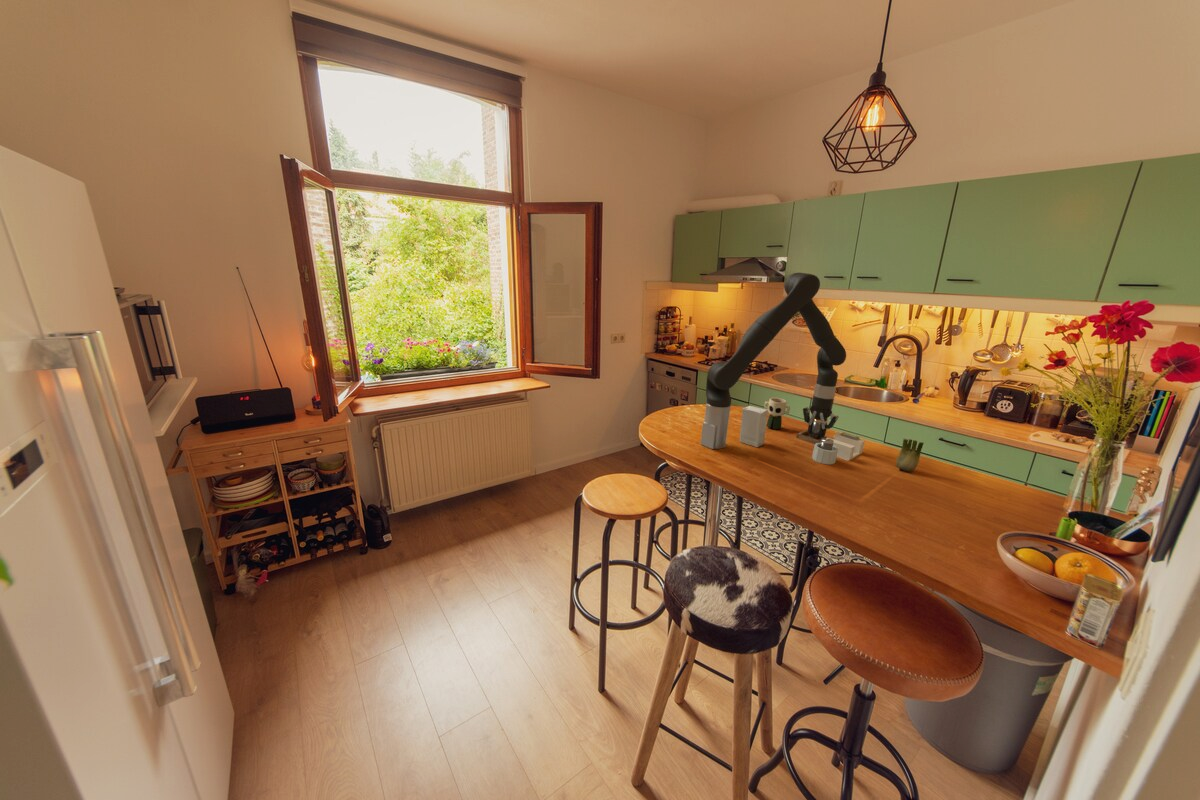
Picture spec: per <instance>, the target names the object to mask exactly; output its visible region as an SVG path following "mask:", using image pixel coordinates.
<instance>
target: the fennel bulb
mask: <svg viewBox="0 0 1200 800" xmlns="http://www.w3.org/2000/svg"><path fill="white" fill-rule="evenodd" d="M917 444H918V445H917ZM924 444H925V443H924V442H923V441H919V442H918V440H917V439H912V438H910V439H909V438H903V441H902V446H901V449H900V451H899V453H898V456H897V457H896V462H895V463H896V464H895V465H896V467H897V468H898V469H899V470H900V471H904V472H908V473H909V472H914V471H915V470H916V468H917V467H918V465H919V462H920V457H921V454H922V449H923V446H924Z"/></svg>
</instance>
